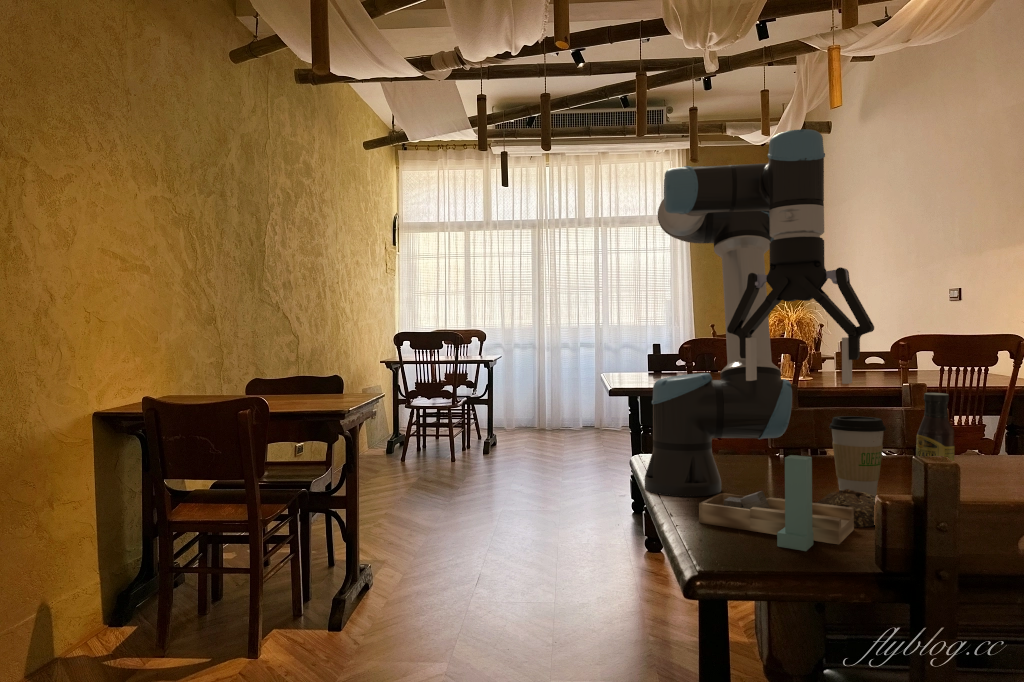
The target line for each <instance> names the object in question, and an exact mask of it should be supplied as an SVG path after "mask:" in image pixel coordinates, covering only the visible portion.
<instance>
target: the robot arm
mask: <svg viewBox="0 0 1024 682" xmlns="http://www.w3.org/2000/svg"><path fill="white" fill-rule="evenodd" d="M824 147H825V146H824V138H823V135H822V133H820V132H819V131H818V130H814V129H809V128H807V129H806V128H805V129H803V128H802V129H800V128H799V129H792V130H786V131H782V132H779V133H777V134H775V135H773V136H772V137H771V138H770V140H769V147H768V153H767V158H768V162H767V163H766V162H765V163H750V164H748V163H747V164H729V165H706V166H705V165H702V166H701V165H699V166H690V165H683V166H682V167H681V166H680V167H671V168H668V169H667V170H666V171H665V172H664V177H663V178H664V180H663V199H662V200H661V202H660V204H659V207H658V209H657V220H658V224H659V226H660V228H661V229H662V230H663V231H664V233H666V234H667V235H669V236H670V237H672V238H673V239H676V240H679V241H683V242H686V243H690V244H713V251H714V253H715V255H717V257H720V258H721V264H722V265H721V266H722V284H723V286H722V288H723V300H724V301H723V302H724V303H723V304H724V323H725V338H726V357H727V358H726V359H727V362H726V363H727V364H726V365H725V366H724V367H723V369H722V370H720V379H713V376H712V374H711V373H709V372H701V373H689V374H688V373H687V374H681V375H680V374H679V375H674V376H669V377H663V378H660V379H658V380H656V381H655V382H654V384H653V387H652V400H651V405H652V452H651V457H650V459H649V463H648V465H647V469H646V471H645V475H644V489H645V490H646V491H648V492H651V493H653V494H658V495H665V496H671V497H688V498H689V497H691V498H692V497H694V498H695V497H706V496H715V495H718V494H720V493H722V478H721V474H720V472H719V470H718V466H717V464H716V460H715V458H714V455H713V448H712V447H713V445H712V444H713V443H712V442H713V439H714V438H715V439H716V438H717V439H718V438H719V439H757V440H762V439H776V438H780V437H781V436H783V434H785V433H786V431H787V429H788V426H789V424H790V419H791V415H792V407H793V389H792V384H791V381H790V380H789V379H788V380H787V379H785V378H782V374H781V369H780V368H779V367H778V366H776V365H775V364H774V363H773V361H772V360H773V359H772V350H771V348H772V347H771V346H772V345H771V334H770V321H769V318H770V317H769V316H770V314H771V312H772V311H773V310H774V309H775V308H776V306H778V305H779V304H780V303H781V302H782V301H783V302H788V303H789V302H796V301H801V302H802V301H803V302H811V300H814V301H815V302H816V303H817V304H819V305H820V306H821V307H822V309H823V310H824V311H825V312H826V313H827V314H828V315H829V316H830V317H831V318H832V319H833V321H834V322H835V323H837V325H838V326H839V327H840V328H841V329H842V330H843V331H844V333H845V334H846V335H847V337H845V336H844V337H841V384H842V385H850V384H852V383H853V361H857V360H859V359H860V357H861V337H862V336H864V335H866V334H869V333H872V332H873V331H874V330H875V326H874V323H873V321H872V320H871V318H870V316H869V315H868V313H867V311H866V309H865V307H864V306H863V303H862V302H861V300H860V299H859V297H858V295H857V293H856V292H855V289H854V288H853V286H852V285H851V280H850V279H851V278H850V273H849V270H848V269H847V268H845V267H837V268H836V269H833V270H827V269H826V267H825V239H824V238H823V237H821V236H822V235H823V234H824V233H825V206H824V205H825V204H824V203H825V202H824V201H825V197H824V196H825V190H824V189H825V176H824V175H825V157H826V153H825V149H824ZM768 251H769V270H768V273H767V274H766V264H765V254H766V253H767V252H768ZM828 279H830V281H831V282H832V283H833V284H834V285H837V287H838V289H839V291H840V293H841V295H842V297H843V299H844V300H845V302H846V303H847V305H848V307H849V309H850V311H851V313H852V314H853V316H854V318H855V320H856V322H857V323H858V326H857V325H855V324H854V322H853V321H852V320H851V319H850V317H848V316H847V315H846V314H845V313H844V312H843V311H842V310H841V308H840V307H838V305H836V304H835V302H834V301H833V300H832V299H831V297H830V296H829V295H828V294H827V293H826V292H825V291H824V290H823V286H824V285H825V284H826V282H827V281H828ZM767 284H768V285H769V287H770V288H771V289H772V290H770V292H769V293H768V291H767ZM767 293H768V294H767Z"/></svg>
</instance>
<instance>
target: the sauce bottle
mask: <svg viewBox="0 0 1024 682" xmlns="http://www.w3.org/2000/svg"><path fill="white" fill-rule="evenodd" d="M923 401H924V413H923V415H924V416H923V418H922V419H921V423H920V425H919V428H918V430H917V433H916V439H915V441H916V443H915V444H916V447H915V457H916V456H944V457H948V458H949V459H950V460H952V461H954V462H955V448H956V447H955V430H954V428H953V426H952V424H951V423H950V420H949V418H948V417H949V414H948V407H949V406H948V405H949V404H948V403H949V401H950V395H949V394H948V393H944V392H943V393H942V392H925V393H924V395H923Z"/></svg>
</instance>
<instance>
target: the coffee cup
mask: <svg viewBox="0 0 1024 682" xmlns="http://www.w3.org/2000/svg"><path fill="white" fill-rule="evenodd" d="M883 421H884V420H883V419H882V418H879V417H871V416H857V415H855V416H854V415H851V416H849V415H847V416H846V415H845V416H844V415H843V416H841V415H840V416H833V417H832V420H831V423H829V426H828V428H829V429H831V435H832V442H831V443H832V450H833V457H834V465H835V473H836V478H837V483H838V489H839V490H846V489H850V490H854V491H857V492H865V493H868V494H872V495H874V496H876V497H877V494H878V493H877V492H878V491H877V490H878V484H879V483H878V482H879V480H880V473H881V466H882V465H881V464H882V456H883V450H884V449H883V447H884V444H883V440H884V432H885V431H887V427H886V425H884V422H883Z"/></svg>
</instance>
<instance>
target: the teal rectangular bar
mask: <svg viewBox="0 0 1024 682" xmlns="http://www.w3.org/2000/svg"><path fill="white" fill-rule="evenodd" d="M784 499H785V527H784V528H783V529H782V530H780V531H779V532H778V533H777V535H776V538H777V539H776V541H777V542H776V544H777V545H776V546H777V547H779V548H785V549H791V550H796V551H797V550H798V551H802V552H807V551H809V549H810V548H811V547H813V546H814V541H813V531H812V503H813V457H812V456H808V455H807V456H806V455H797V454H796V455H794V454H790V455H788V456H786V457H784Z"/></svg>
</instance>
